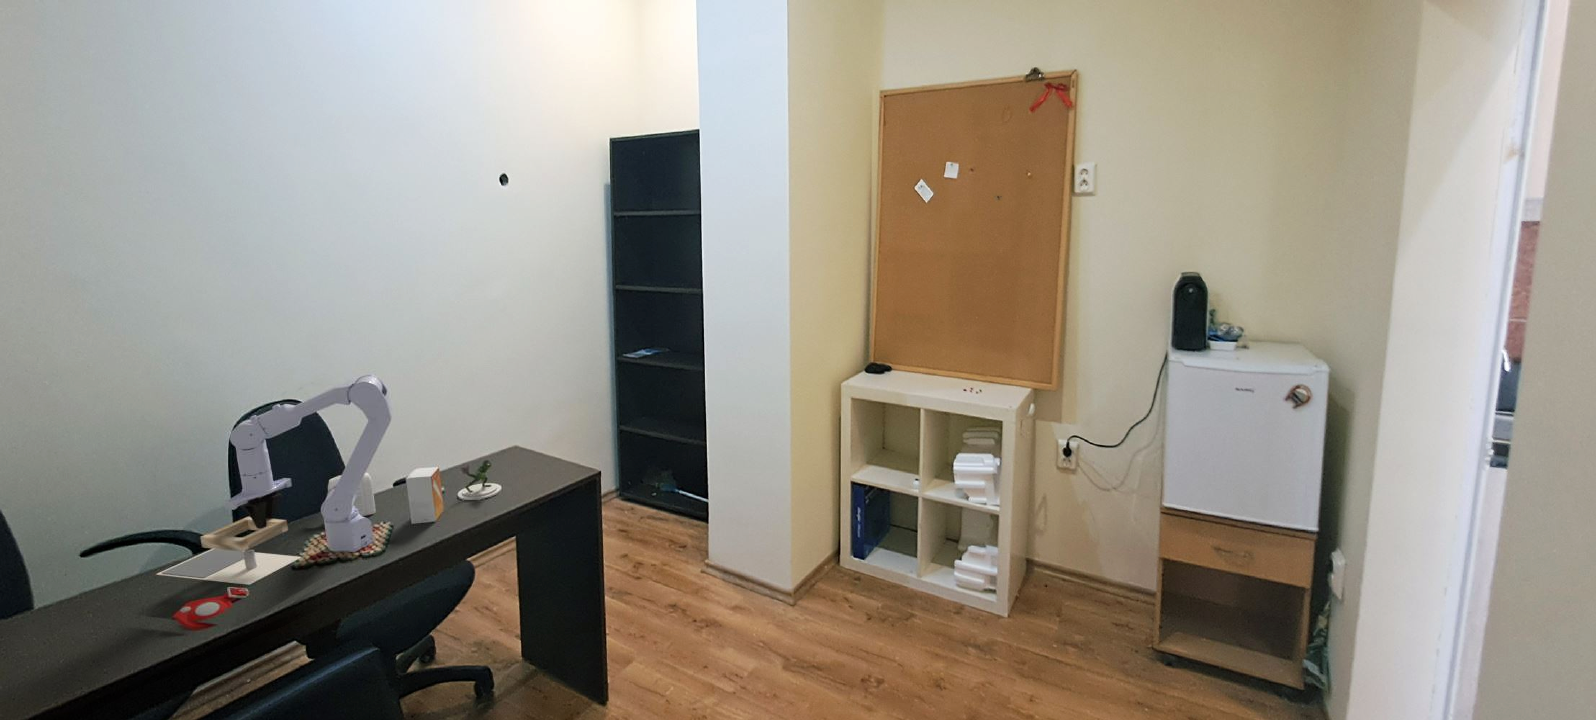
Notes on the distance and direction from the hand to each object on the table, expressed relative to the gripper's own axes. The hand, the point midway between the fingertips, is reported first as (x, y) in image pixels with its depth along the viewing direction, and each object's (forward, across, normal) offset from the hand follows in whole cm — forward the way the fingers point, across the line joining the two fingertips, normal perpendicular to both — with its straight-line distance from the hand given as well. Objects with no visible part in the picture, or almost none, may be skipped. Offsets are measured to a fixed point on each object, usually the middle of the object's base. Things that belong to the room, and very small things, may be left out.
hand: (265, 526), depth 162 cm
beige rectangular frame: (+1, +5, 0) cm, 5 cm away
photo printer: (+10, -27, -3) cm, 29 cm away
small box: (+10, -30, +18) cm, 37 cm away
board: (+10, +5, -6) cm, 12 cm away
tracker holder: (+10, +20, +9) cm, 25 cm away
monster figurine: (+10, -48, +21) cm, 54 cm away
